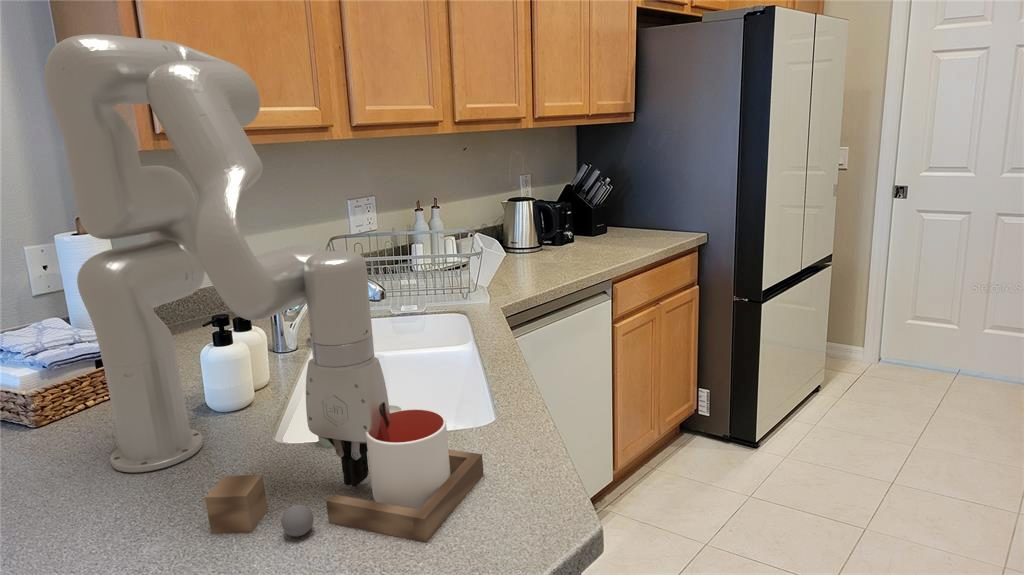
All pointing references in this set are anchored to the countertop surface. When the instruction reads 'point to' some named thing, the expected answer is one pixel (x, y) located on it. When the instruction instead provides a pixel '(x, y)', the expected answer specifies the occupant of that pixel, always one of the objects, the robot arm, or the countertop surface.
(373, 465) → the cup
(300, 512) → the grey ball
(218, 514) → the walnut block
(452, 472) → the bay
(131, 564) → the countertop surface
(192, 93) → the robot arm
